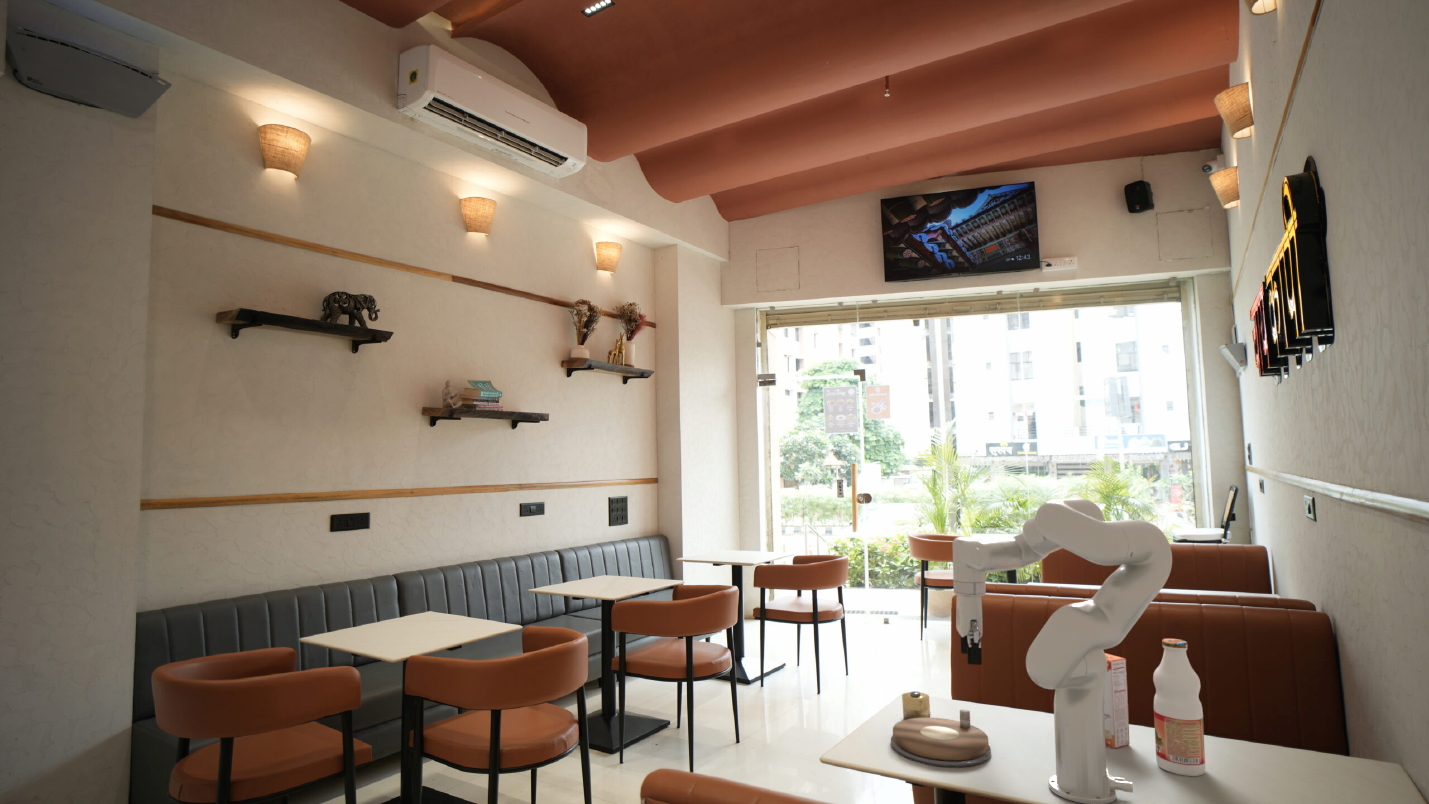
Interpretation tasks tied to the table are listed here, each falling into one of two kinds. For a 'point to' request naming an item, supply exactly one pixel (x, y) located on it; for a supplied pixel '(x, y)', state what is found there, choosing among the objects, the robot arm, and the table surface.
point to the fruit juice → (1178, 713)
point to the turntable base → (941, 762)
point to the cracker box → (1116, 703)
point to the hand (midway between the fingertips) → (971, 658)
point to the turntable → (941, 738)
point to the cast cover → (915, 705)
